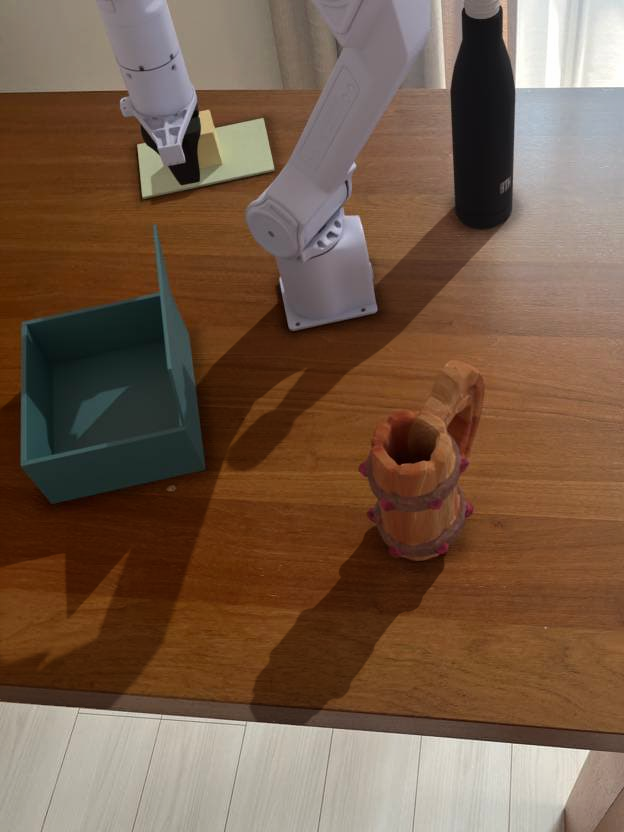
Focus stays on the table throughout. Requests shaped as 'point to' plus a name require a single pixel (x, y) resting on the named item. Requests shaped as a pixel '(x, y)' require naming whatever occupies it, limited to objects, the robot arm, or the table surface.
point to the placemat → (240, 158)
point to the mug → (425, 466)
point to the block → (208, 142)
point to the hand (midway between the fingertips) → (189, 179)
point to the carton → (105, 400)
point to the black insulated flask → (483, 118)
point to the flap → (168, 326)
